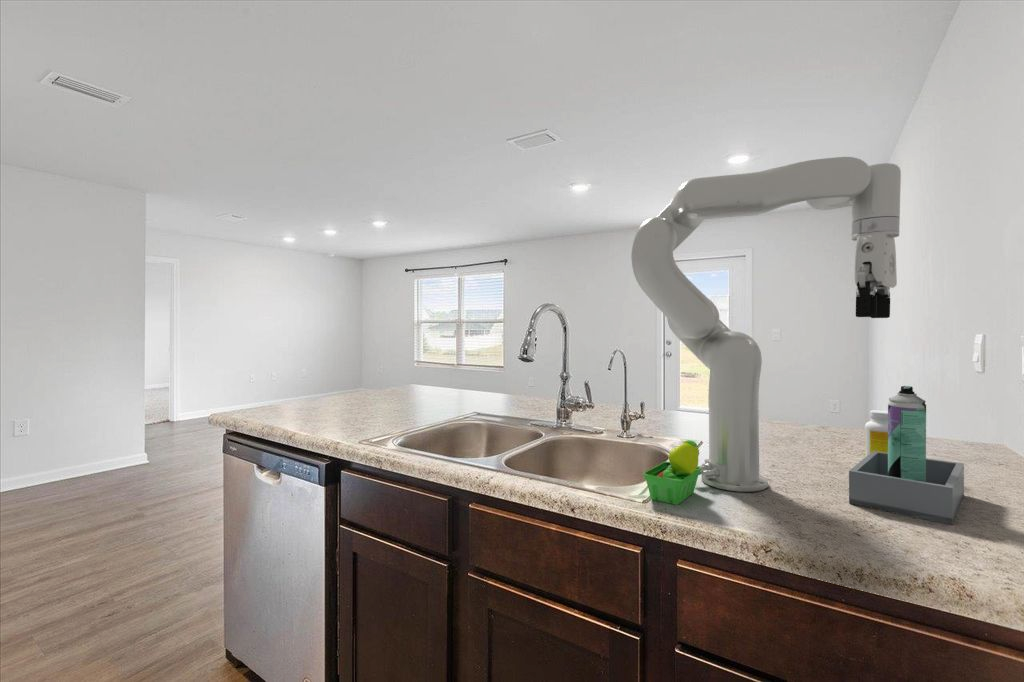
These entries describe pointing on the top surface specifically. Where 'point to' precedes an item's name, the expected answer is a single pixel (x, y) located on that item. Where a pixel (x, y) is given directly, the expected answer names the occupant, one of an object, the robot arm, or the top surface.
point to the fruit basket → (675, 475)
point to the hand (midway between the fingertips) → (873, 317)
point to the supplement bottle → (876, 432)
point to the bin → (908, 489)
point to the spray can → (907, 436)
